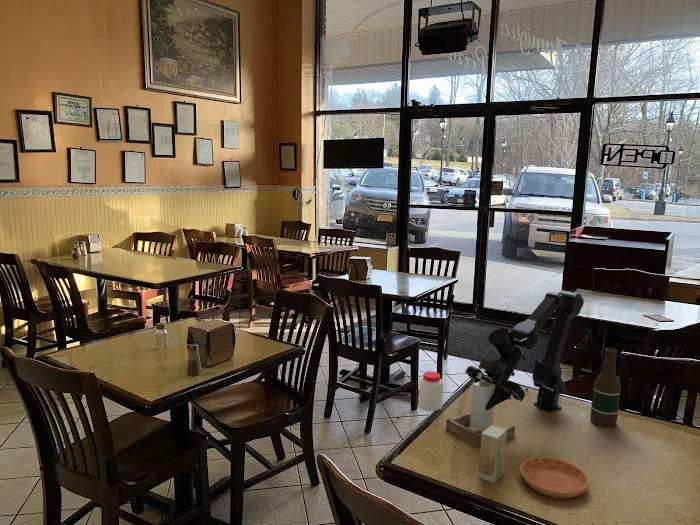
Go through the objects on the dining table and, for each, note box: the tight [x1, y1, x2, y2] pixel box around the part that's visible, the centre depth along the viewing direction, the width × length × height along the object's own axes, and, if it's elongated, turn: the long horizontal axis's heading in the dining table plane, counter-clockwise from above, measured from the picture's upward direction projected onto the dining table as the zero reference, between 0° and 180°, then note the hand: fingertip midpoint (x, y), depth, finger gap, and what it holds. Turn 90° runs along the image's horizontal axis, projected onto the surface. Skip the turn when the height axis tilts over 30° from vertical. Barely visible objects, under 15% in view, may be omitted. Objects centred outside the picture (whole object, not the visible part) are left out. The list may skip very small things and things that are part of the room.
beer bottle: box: [590, 347, 621, 429], centre depth 166 cm, size 8×8×24 cm
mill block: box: [469, 380, 495, 432], centre depth 158 cm, size 5×5×14 cm
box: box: [445, 410, 516, 449], centre depth 159 cm, size 14×14×3 cm
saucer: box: [519, 456, 590, 500], centre depth 133 cm, size 16×16×3 cm
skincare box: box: [478, 424, 507, 484], centre depth 135 cm, size 6×4×12 cm
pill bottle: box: [418, 371, 444, 412], centre depth 176 cm, size 8×8×11 cm
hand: (479, 406), depth 157 cm, fingers closed on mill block, 5 cm apart
